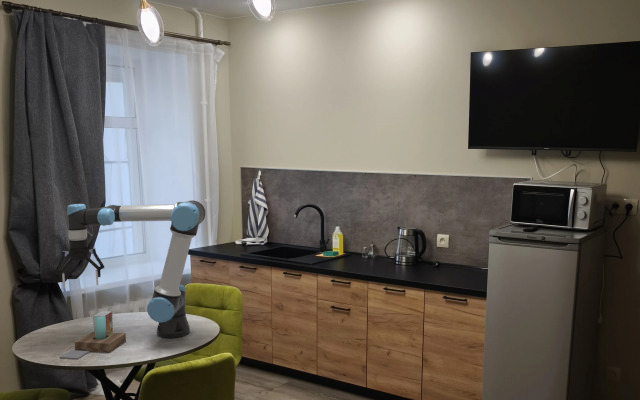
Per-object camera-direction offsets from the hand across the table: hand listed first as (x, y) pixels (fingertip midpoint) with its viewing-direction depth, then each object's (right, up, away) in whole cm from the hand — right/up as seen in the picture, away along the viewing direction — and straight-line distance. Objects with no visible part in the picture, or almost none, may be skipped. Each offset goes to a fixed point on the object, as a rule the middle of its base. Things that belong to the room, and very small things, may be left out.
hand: (80, 286), depth 249 cm
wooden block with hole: (+10, -26, -4) cm, 28 cm away
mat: (+4, -27, -15) cm, 31 cm away
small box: (+6, -25, +11) cm, 28 cm away
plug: (+10, -26, -4) cm, 28 cm away
